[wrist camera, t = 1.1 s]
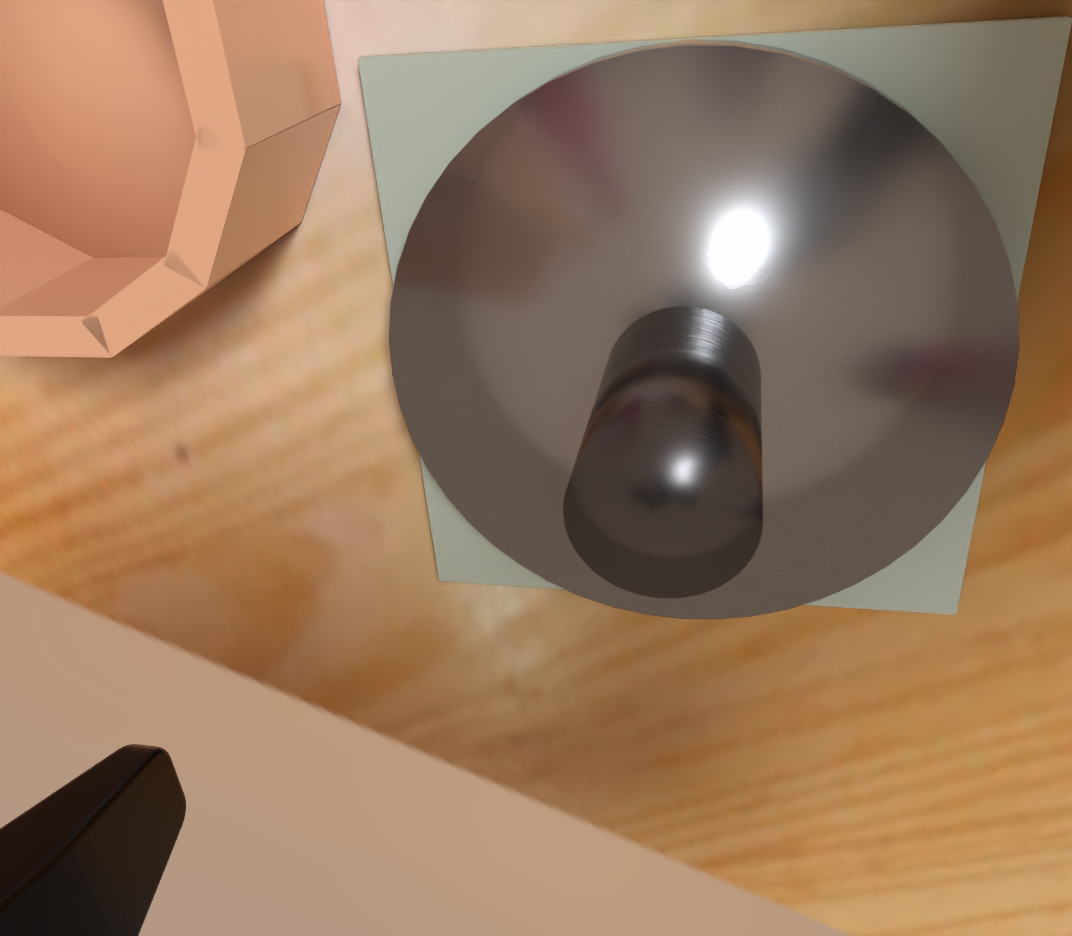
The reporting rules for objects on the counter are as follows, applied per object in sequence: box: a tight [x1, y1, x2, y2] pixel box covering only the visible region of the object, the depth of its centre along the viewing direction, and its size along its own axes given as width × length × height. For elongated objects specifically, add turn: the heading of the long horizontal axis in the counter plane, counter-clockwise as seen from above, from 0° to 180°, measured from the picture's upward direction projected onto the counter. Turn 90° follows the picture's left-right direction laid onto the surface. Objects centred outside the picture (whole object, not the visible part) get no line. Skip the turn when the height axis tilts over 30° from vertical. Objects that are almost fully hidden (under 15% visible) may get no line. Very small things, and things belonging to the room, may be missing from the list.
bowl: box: [0, 0, 341, 358], centre depth 17 cm, size 10×10×4 cm
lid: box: [389, 40, 1019, 619], centre depth 17 cm, size 12×12×6 cm
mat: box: [358, 16, 1072, 615], centre depth 19 cm, size 12×12×1 cm
